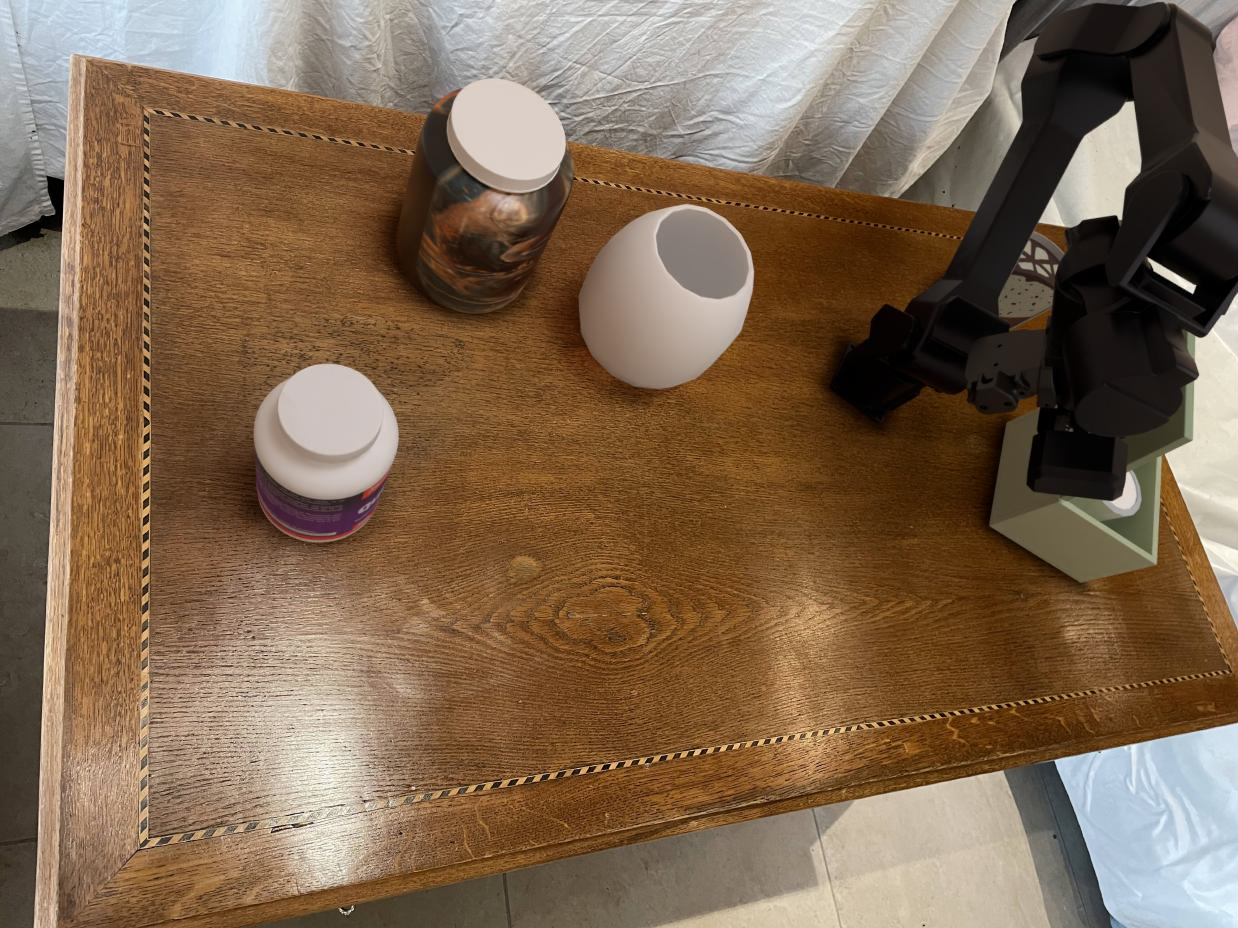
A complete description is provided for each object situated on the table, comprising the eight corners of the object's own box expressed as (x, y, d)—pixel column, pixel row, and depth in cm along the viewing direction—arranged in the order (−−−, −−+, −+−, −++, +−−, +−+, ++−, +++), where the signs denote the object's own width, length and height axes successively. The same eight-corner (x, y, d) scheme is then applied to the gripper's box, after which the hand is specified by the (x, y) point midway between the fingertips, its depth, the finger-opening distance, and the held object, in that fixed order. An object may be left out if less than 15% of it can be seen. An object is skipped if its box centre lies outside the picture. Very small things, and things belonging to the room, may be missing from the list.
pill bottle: (368, 554, 55) (396, 491, 43) (245, 537, 53) (235, 464, 40) (387, 448, 58) (417, 361, 46) (270, 427, 56) (269, 328, 43)
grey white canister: (1082, 491, 85) (1143, 469, 79) (1078, 545, 82) (1141, 527, 76) (1034, 461, 84) (1092, 437, 78) (1028, 515, 81) (1088, 495, 75)
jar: (365, 217, 64) (388, 78, 51) (483, 178, 70) (530, 44, 57) (444, 334, 63) (488, 222, 50) (556, 284, 69) (621, 173, 56)
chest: (1091, 478, 88) (1162, 452, 81) (1080, 583, 81) (1157, 565, 74) (1006, 422, 86) (1071, 391, 79) (988, 525, 79) (1058, 501, 72)
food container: (1004, 295, 93) (1078, 246, 85) (1010, 339, 91) (1087, 293, 82) (921, 263, 89) (990, 208, 81) (924, 308, 87) (996, 256, 78)
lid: (1196, 316, 67) (1188, 312, 67) (1193, 440, 60) (1184, 436, 60) (1079, 391, 78) (1072, 387, 78) (1066, 502, 72) (1059, 498, 72)
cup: (623, 431, 67) (696, 359, 55) (533, 307, 68) (587, 210, 56) (725, 366, 73) (809, 290, 62) (642, 254, 74) (710, 158, 63)
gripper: (991, 239, 64) (989, 368, 76) (951, 416, 56) (956, 531, 67) (1154, 236, 59) (1125, 375, 70) (1138, 431, 50) (1108, 553, 62)
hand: (1075, 454), depth 68 cm, fingers closed
